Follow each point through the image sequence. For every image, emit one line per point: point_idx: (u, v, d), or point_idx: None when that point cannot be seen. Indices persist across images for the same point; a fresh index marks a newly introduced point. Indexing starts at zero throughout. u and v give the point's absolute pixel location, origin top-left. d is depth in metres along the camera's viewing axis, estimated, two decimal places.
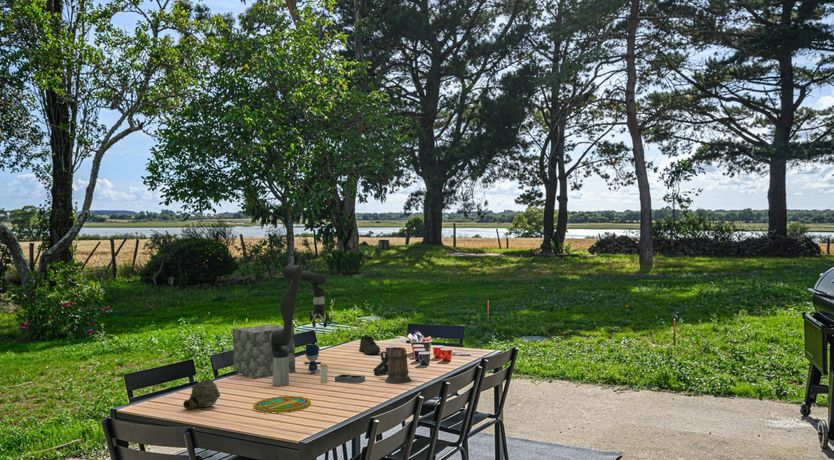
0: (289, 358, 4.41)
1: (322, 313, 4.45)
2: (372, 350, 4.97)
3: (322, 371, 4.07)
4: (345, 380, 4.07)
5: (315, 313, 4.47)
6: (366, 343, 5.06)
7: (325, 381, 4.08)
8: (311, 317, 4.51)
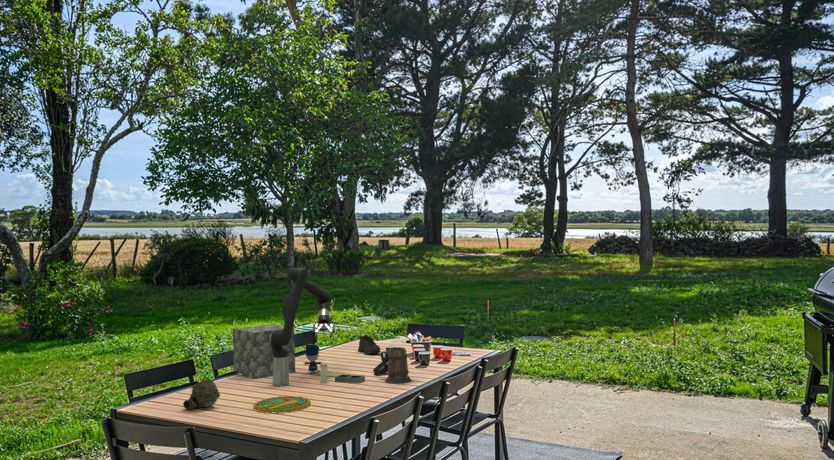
0: (289, 358, 4.41)
1: (328, 324, 4.28)
2: (373, 350, 4.97)
3: (322, 371, 4.07)
4: (345, 380, 4.07)
5: (320, 325, 4.27)
6: (366, 343, 5.06)
7: (325, 381, 4.08)
8: (313, 330, 4.26)
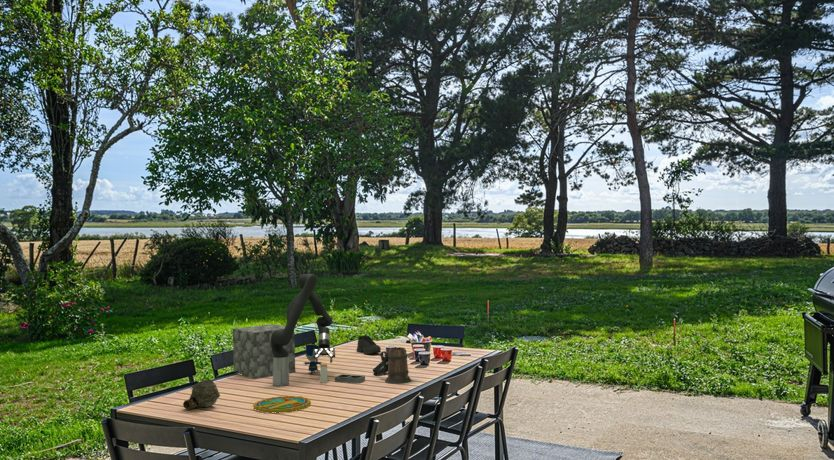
0: (289, 358, 4.41)
1: (329, 349, 4.21)
2: (373, 350, 4.98)
3: (322, 371, 4.07)
4: (345, 380, 4.07)
5: (320, 349, 4.21)
6: (366, 343, 5.06)
7: (325, 381, 4.08)
8: (313, 355, 4.19)
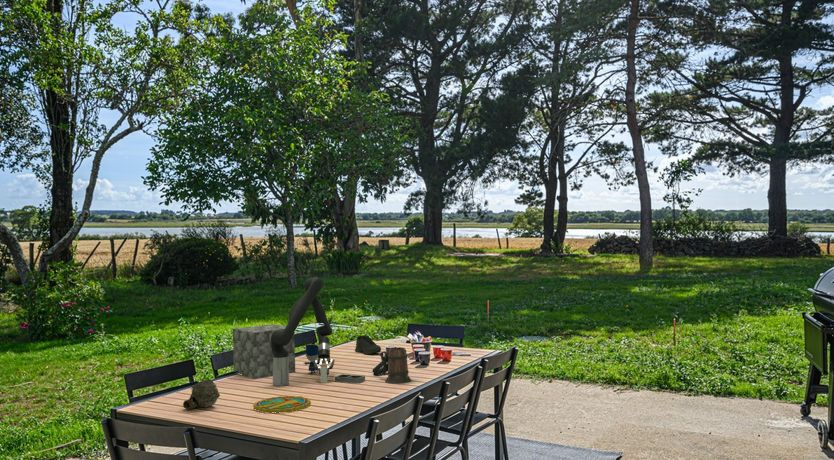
0: (289, 358, 4.41)
1: (329, 360, 4.14)
2: (374, 350, 4.98)
3: (322, 371, 4.07)
4: (345, 380, 4.07)
5: (320, 359, 4.14)
6: (365, 343, 5.06)
7: (325, 381, 4.08)
8: (315, 367, 4.12)
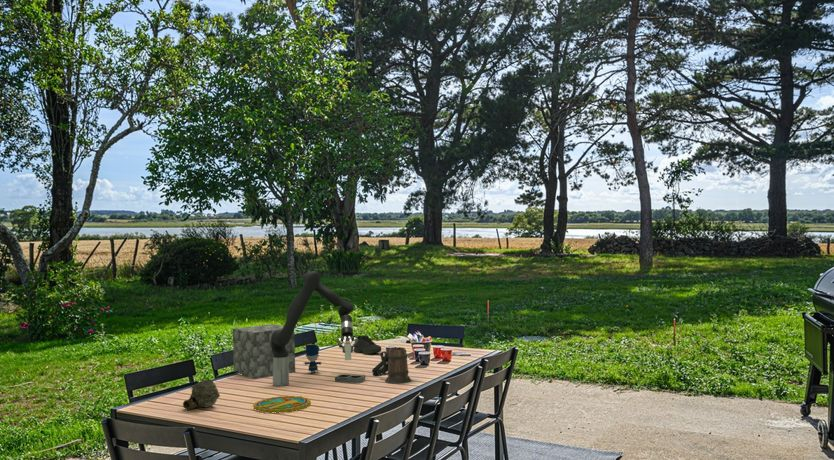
0: (289, 358, 4.41)
1: (352, 338, 4.14)
2: (375, 350, 4.99)
3: (346, 349, 4.08)
4: (345, 380, 4.07)
5: (343, 337, 4.14)
6: (365, 343, 5.06)
7: (349, 358, 4.08)
8: (339, 345, 4.12)
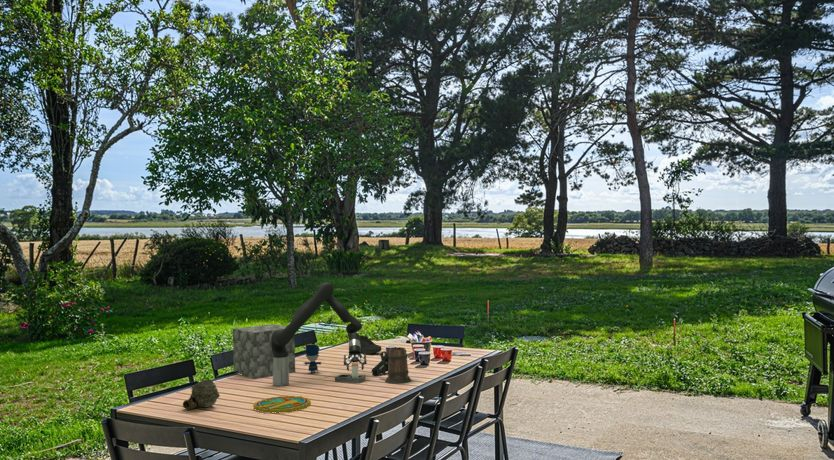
0: (289, 358, 4.41)
1: (360, 355, 4.13)
2: (375, 349, 4.99)
3: (353, 370, 4.06)
4: (345, 380, 4.07)
5: (351, 356, 4.13)
6: (365, 343, 5.06)
7: None
8: (344, 362, 4.11)
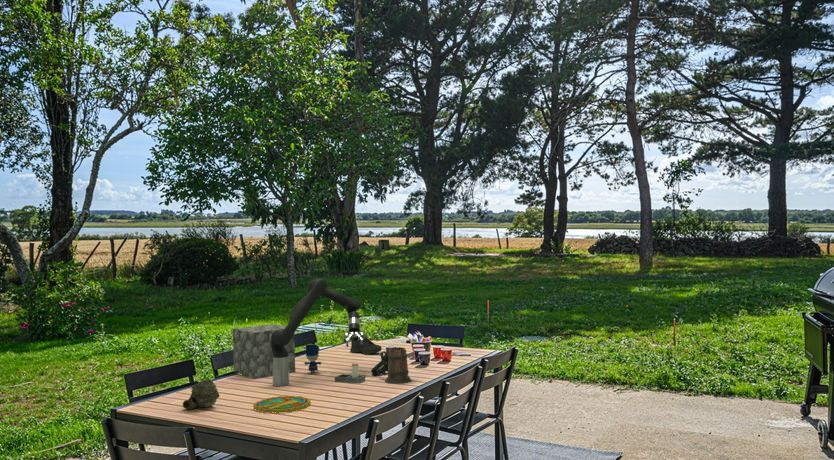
0: (289, 358, 4.41)
1: (359, 333, 4.27)
2: (376, 349, 5.00)
3: (353, 370, 4.06)
4: (345, 380, 4.07)
5: (350, 333, 4.26)
6: (365, 343, 5.06)
7: None
8: None
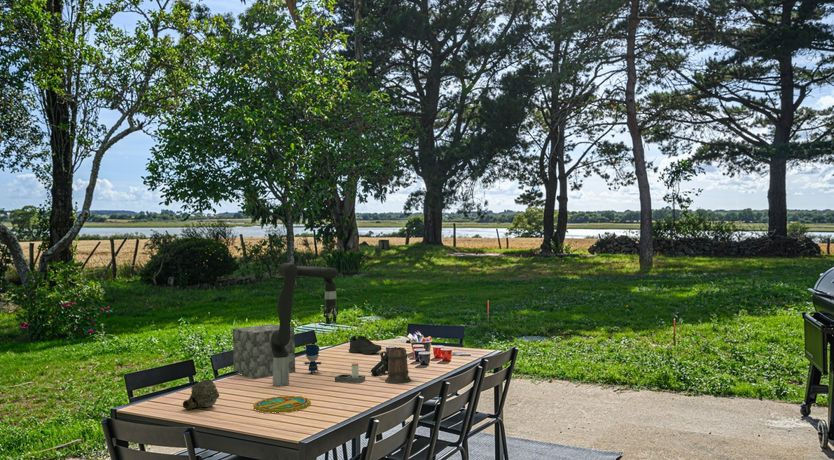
0: (289, 358, 4.41)
1: (334, 307, 4.33)
2: (376, 349, 5.00)
3: (353, 370, 4.06)
4: (345, 380, 4.07)
5: (330, 308, 4.28)
6: (364, 343, 5.06)
7: None
8: (324, 314, 4.25)
